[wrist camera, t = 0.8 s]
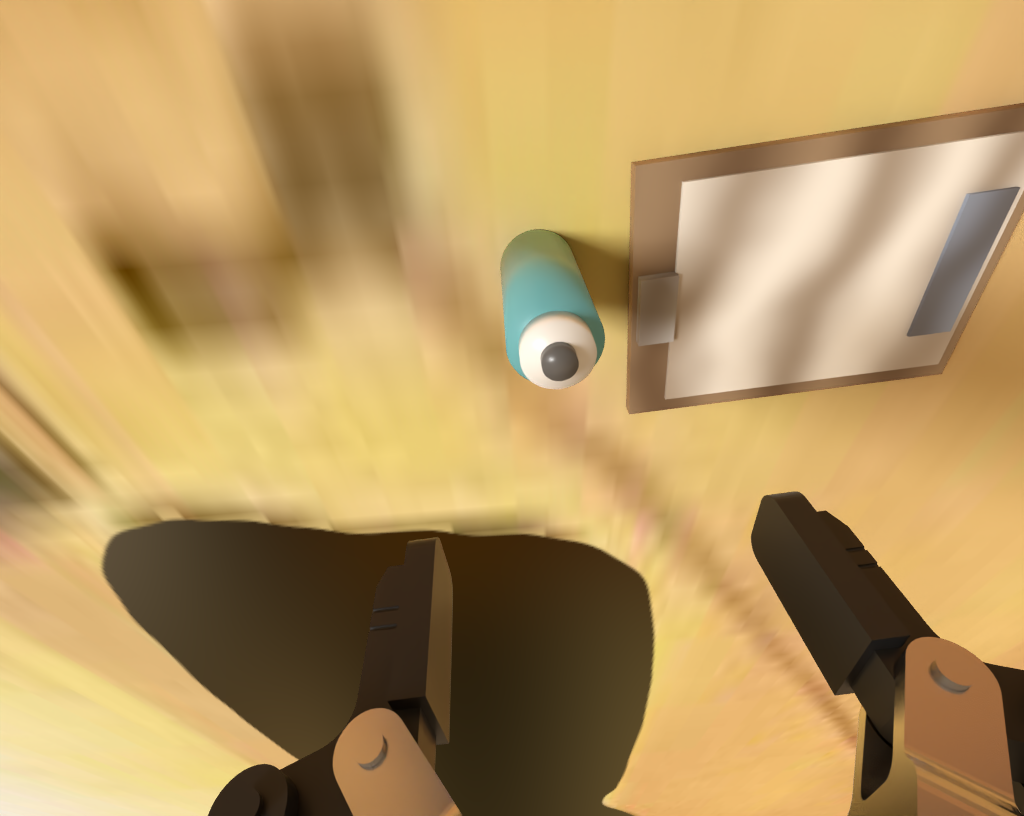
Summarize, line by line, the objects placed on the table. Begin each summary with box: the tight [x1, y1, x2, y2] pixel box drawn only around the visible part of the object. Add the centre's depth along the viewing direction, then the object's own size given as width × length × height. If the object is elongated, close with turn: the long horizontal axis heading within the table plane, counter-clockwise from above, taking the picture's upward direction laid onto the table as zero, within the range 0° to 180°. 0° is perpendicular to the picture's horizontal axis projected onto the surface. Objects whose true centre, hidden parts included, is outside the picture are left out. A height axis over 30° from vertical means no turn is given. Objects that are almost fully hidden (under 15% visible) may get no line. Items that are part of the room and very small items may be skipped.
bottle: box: [501, 229, 605, 389], centre depth 22 cm, size 4×4×10 cm
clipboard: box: [626, 103, 1024, 414], centre depth 27 cm, size 20×15×1 cm
